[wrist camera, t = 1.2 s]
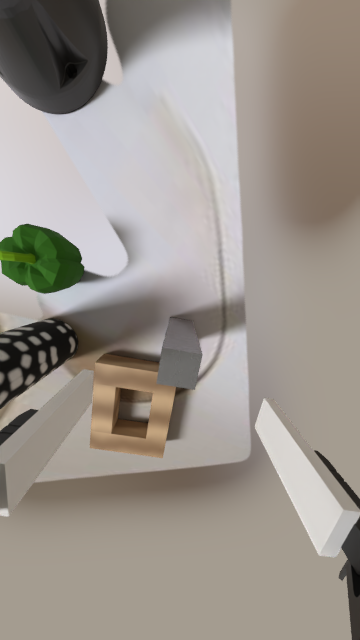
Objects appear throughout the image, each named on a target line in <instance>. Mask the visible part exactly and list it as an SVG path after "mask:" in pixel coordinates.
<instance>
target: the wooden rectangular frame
mask: <svg viewBox="0 0 360 640" xmlns="http://www.w3.org/2000/svg"><path fill="white" fill-rule="evenodd" d="M159 364H160V362H154V361H147V360H141V359H135V358H128V357H122V356H116V355H110V354H103V355H102V356H101V357H100V358H99V359H98V360H97V361H96V362H95V374H94V390H93V406H92V421H91V437H90V448H94V449H101V450H108V451H115V452H123V453H130V454H137V455H144V456H151V457H159V458H163V453H164V448H165V443H166V438H167V432H168V427H169V422H170V417H171V411H172V406H173V401H174V396H175V390H176V387H174V386H167V385H161V384H156V383H157V376H158V370H159ZM121 388H126V389H133V390H139V391H146V392H152V393H153V397H152V403H151V410H150V416H149V422H148V423H143V422H136V421H129V420H122V419H118V413H119V403H120V394H121Z"/></svg>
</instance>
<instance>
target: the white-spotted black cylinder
mask: <svg viewBox="0 0 360 640" xmlns="http://www.w3.org/2000/svg"><path fill="white" fill-rule="evenodd" d="M77 349H78V339H77V336H76V333H75V332H74V330H73V329H72V328H71V327H70V326H69V325H68V324H66V323H65V322H63V321H61V320H58V319H46V320H42V321H39V322H35V323H32V324H29V325H25V326H22V327H19V328H15V329H12V330H9V331H5V332H2V333H0V409H1V408H2V407H4V406H5V405H7V404H8V403H9V402H11V401H12V400H13V399H15V398H16V397H18V396H19V395H20V394H22V393H23V392H25V391H26V390H27V389H29V388H30V387H32V386H33V385H34V384H36V383H37V382H38V381H40V380H41V379H43V378H44V377H45V376H47V375H48V374H50V373H51V372H52V371H54V370H55V369H57V368H58V367H59V366H61V365H62V364H63V363H65V362H66V361H68V360H69V359H70V358H72V357H73V356H74V355H75V353H76V351H77Z"/></svg>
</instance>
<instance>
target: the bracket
mask: <svg viewBox="0 0 360 640" xmlns="http://www.w3.org/2000/svg"><path fill="white" fill-rule="evenodd" d="M201 359H202V351H201V348H200V344H199V341H198V337H197V334H196V331H195V327H194V324H193V321H191V320H185V319H180V318H174V317H170V320H169V324H168V328H167V331H166V335H165V339H164V342H163V346H162V351H161V357H160V364H159V370H158V376H157V383H156V384H161V385H167V386H174V387H180V388H187V389H193V390H195V386H196V381H197V377H198V372H199V368H200V363H201Z"/></svg>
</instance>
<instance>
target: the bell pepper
mask: <svg viewBox="0 0 360 640" xmlns="http://www.w3.org/2000/svg"><path fill="white" fill-rule="evenodd" d="M0 260H1V263H2V274H4V275H6V276H7V277H9V278H10V279H12V280H13V281H15V282H16V283H18V284H20V285H28V286H29V287H30V289H32V290H35V291H37V292H40V293H44V294H45V293H53V292H57V291H60V290H63V289H66V288H69V287H71V286H73V285H75V284H76V283H78V282H79V280H80V279H81V277H82V276H83V273H84V266H83V265H82V264H81V260H82V257H81V254H80V251H79V249H78V248H77V247H76V246H75V245H73V244H72V243H71V242H69V241H68V240H67V239H66V238H64V237H63V236H62V235H60V234H59V233H57V232H55V231H52V230H50V229H47V228H43V227H38V226H34V225H30V224H24V225H20V226H18V227H17V228H16V229H15V230H14V231H13V236H12V237H7V238H5V239H3V240H2V241H1V242H0Z"/></svg>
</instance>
